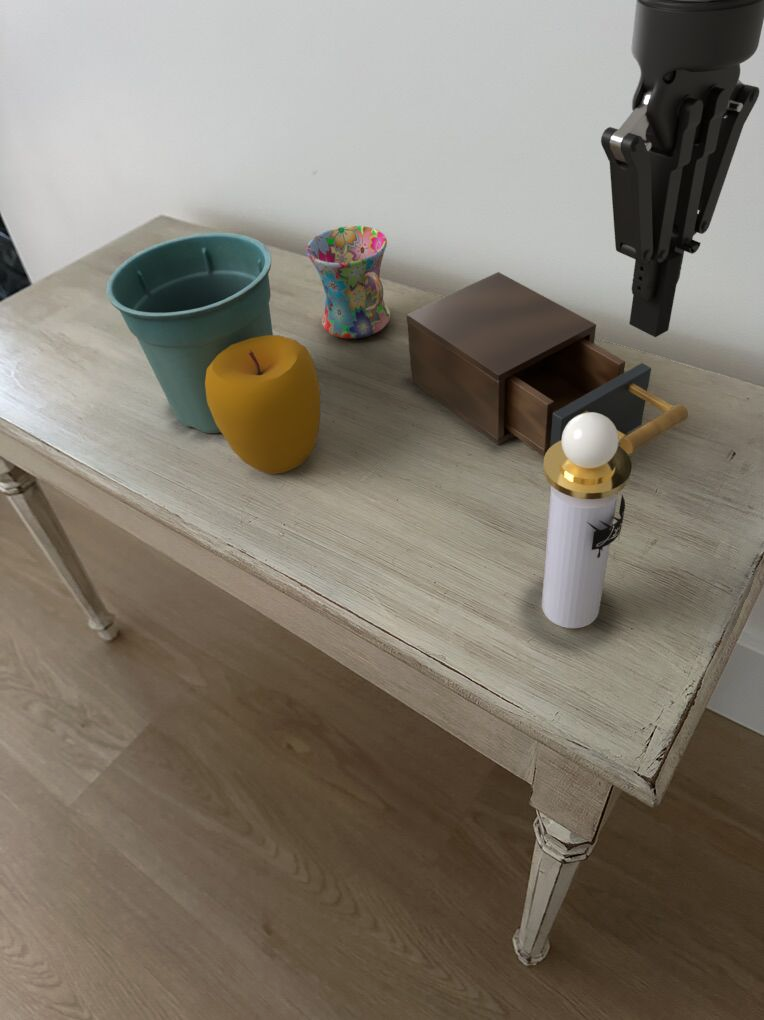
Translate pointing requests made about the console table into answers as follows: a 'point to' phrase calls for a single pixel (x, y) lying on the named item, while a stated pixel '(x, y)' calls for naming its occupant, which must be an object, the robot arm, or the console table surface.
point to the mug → (351, 280)
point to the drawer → (583, 397)
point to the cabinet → (486, 346)
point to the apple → (266, 401)
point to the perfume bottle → (581, 517)
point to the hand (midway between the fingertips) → (648, 326)
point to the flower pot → (193, 310)
